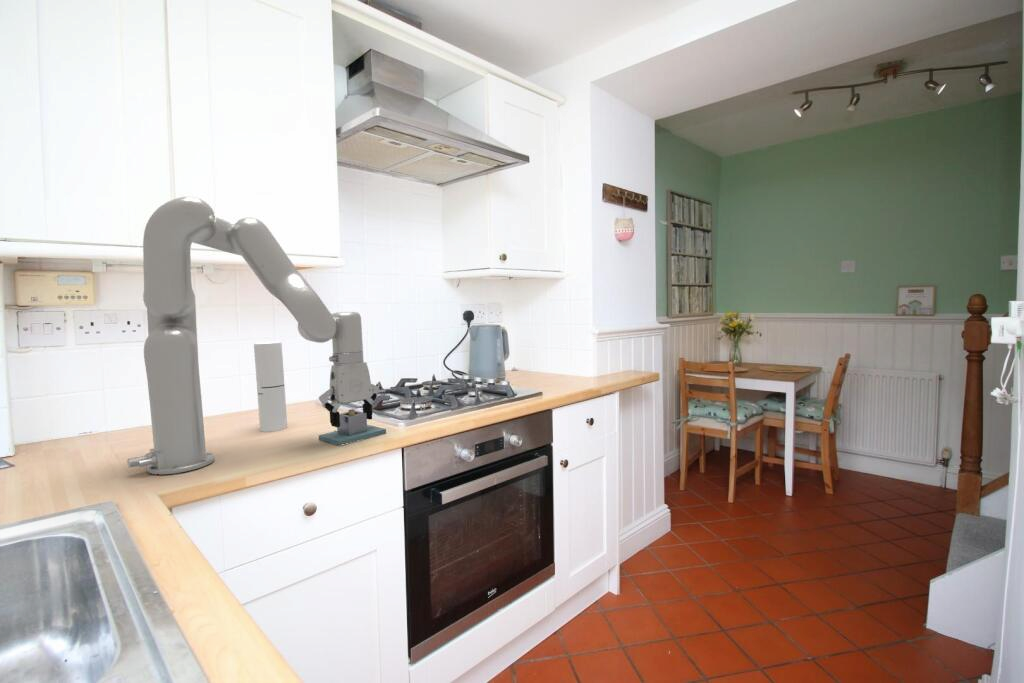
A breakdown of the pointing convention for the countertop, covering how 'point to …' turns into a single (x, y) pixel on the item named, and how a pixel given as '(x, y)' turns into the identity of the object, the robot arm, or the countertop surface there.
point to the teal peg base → (343, 439)
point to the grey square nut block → (352, 423)
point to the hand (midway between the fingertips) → (352, 422)
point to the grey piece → (270, 386)
